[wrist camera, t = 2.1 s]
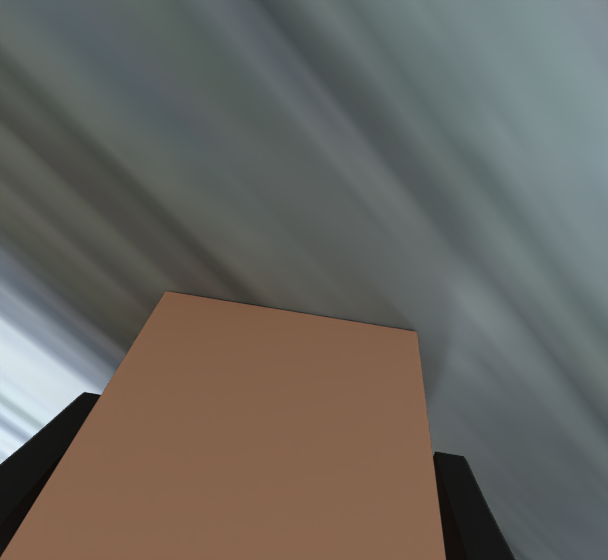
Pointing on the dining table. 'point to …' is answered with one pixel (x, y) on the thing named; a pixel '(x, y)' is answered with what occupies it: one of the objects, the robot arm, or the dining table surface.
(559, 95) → the dining table surface
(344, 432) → the block
